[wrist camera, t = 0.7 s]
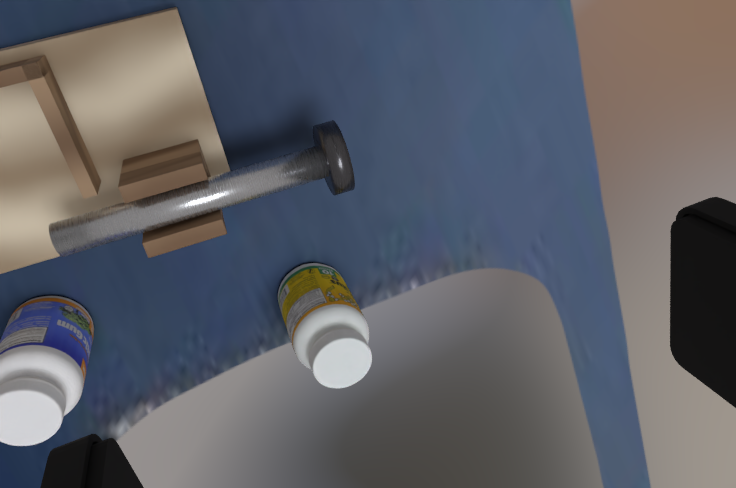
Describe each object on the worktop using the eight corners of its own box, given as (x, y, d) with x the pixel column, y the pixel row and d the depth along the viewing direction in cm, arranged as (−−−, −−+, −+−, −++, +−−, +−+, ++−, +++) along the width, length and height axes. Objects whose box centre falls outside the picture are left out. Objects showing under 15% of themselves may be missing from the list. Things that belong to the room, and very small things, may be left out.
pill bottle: (107, 342, 44) (94, 434, 36) (32, 369, 43) (0, 470, 35) (73, 281, 41) (50, 366, 33) (-8, 309, 40) (-52, 403, 32)
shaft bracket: (-201, 96, 32) (-283, 130, 26) (176, 6, 36) (179, 18, 30) (-75, 287, 39) (-118, 349, 33) (238, 193, 42) (250, 234, 36)
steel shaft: (46, 191, 35) (31, 221, 31) (326, 112, 38) (344, 131, 34) (77, 255, 37) (68, 290, 33) (340, 176, 40) (359, 199, 36)
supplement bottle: (263, 285, 46) (285, 359, 37) (323, 247, 46) (358, 313, 38) (299, 332, 48) (328, 410, 40) (355, 296, 49) (395, 367, 40)
